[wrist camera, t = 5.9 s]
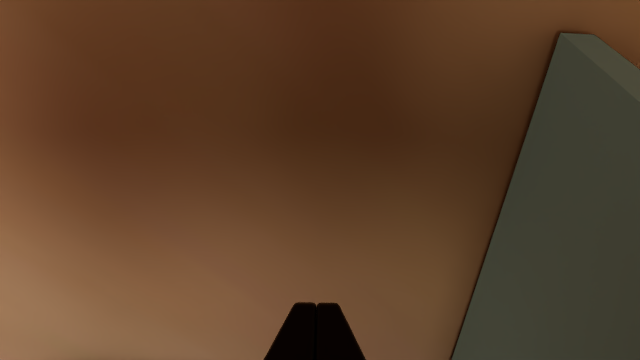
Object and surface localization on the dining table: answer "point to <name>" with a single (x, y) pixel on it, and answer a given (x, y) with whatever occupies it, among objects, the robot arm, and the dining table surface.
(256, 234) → the dining table surface
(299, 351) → the robot arm
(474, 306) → the grey-green bar
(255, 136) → the dining table surface
